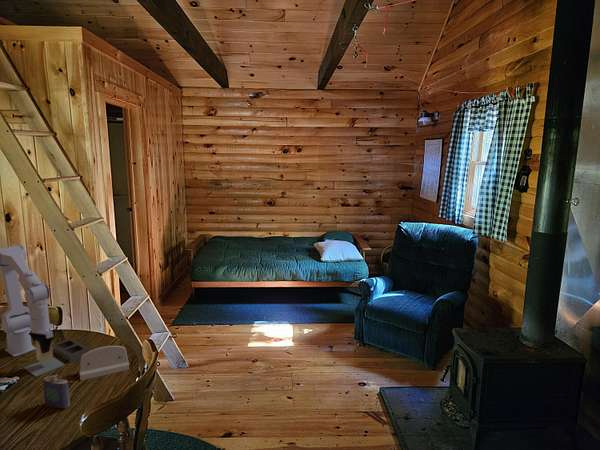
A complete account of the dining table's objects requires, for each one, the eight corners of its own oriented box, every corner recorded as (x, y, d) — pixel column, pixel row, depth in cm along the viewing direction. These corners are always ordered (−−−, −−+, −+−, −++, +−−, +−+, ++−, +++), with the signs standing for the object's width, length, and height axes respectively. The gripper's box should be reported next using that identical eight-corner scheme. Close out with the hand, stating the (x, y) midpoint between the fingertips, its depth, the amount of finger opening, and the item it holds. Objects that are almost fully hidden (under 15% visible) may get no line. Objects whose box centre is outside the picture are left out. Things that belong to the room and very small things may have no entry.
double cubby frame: (51, 350, 157) (50, 345, 157) (71, 343, 164) (70, 338, 164) (69, 362, 149) (69, 356, 148) (90, 354, 155) (90, 348, 155)
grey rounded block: (79, 380, 137) (77, 352, 138) (80, 378, 141) (78, 351, 142) (129, 369, 145) (127, 342, 146) (129, 367, 149) (126, 341, 150)
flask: (72, 405, 123) (69, 375, 121) (64, 410, 120) (61, 380, 119) (49, 400, 126) (46, 370, 124) (41, 405, 123) (38, 375, 121)
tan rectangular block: (36, 359, 145) (34, 339, 143) (48, 355, 148) (46, 335, 146) (41, 362, 142) (39, 342, 141) (53, 358, 146) (51, 338, 144)
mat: (24, 368, 144) (24, 367, 144) (53, 357, 152) (52, 356, 152) (35, 377, 138) (35, 376, 138) (65, 365, 147) (64, 364, 147)
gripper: (60, 317, 141) (63, 351, 143) (42, 308, 149) (46, 341, 151) (39, 324, 135) (42, 359, 138) (22, 314, 143) (25, 348, 146)
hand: (43, 350), depth 144 cm, fingers closed on tan rectangular block, 4 cm apart
